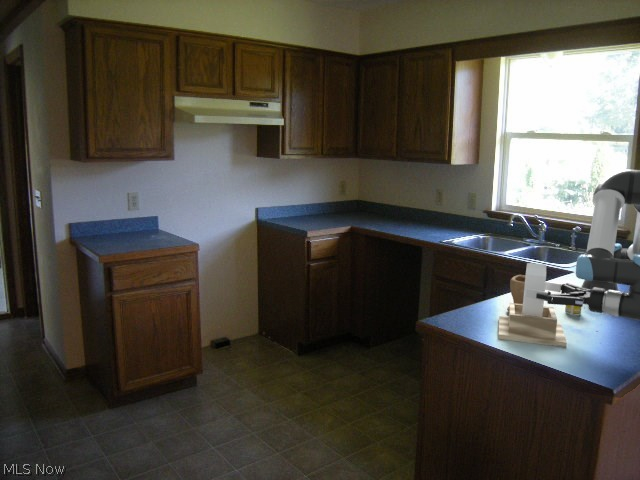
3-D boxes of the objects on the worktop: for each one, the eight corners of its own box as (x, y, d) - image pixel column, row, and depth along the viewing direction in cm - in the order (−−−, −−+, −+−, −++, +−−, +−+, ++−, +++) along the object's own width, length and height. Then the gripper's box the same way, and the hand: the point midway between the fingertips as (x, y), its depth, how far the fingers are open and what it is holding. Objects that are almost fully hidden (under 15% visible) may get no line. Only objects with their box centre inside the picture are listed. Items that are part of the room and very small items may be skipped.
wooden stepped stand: (498, 319, 192) (500, 299, 191) (560, 326, 186) (562, 305, 185) (498, 338, 174) (500, 316, 172) (566, 347, 168) (568, 324, 166)
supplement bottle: (563, 313, 201) (566, 288, 199) (566, 310, 205) (569, 285, 203) (579, 316, 197) (581, 291, 196) (582, 313, 202) (584, 288, 200)
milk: (521, 324, 183) (526, 261, 180) (540, 326, 181) (546, 262, 178) (521, 330, 178) (526, 264, 174) (541, 332, 176) (547, 266, 172)
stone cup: (502, 315, 197) (505, 275, 194) (511, 308, 207) (514, 269, 204) (545, 324, 189) (550, 282, 186) (553, 315, 198) (557, 276, 196)
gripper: (594, 323, 155) (519, 308, 168) (612, 304, 174) (544, 292, 187) (596, 298, 154) (521, 284, 167) (615, 281, 173) (546, 270, 186)
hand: (533, 288), depth 177 cm, fingers open, 13 cm apart
